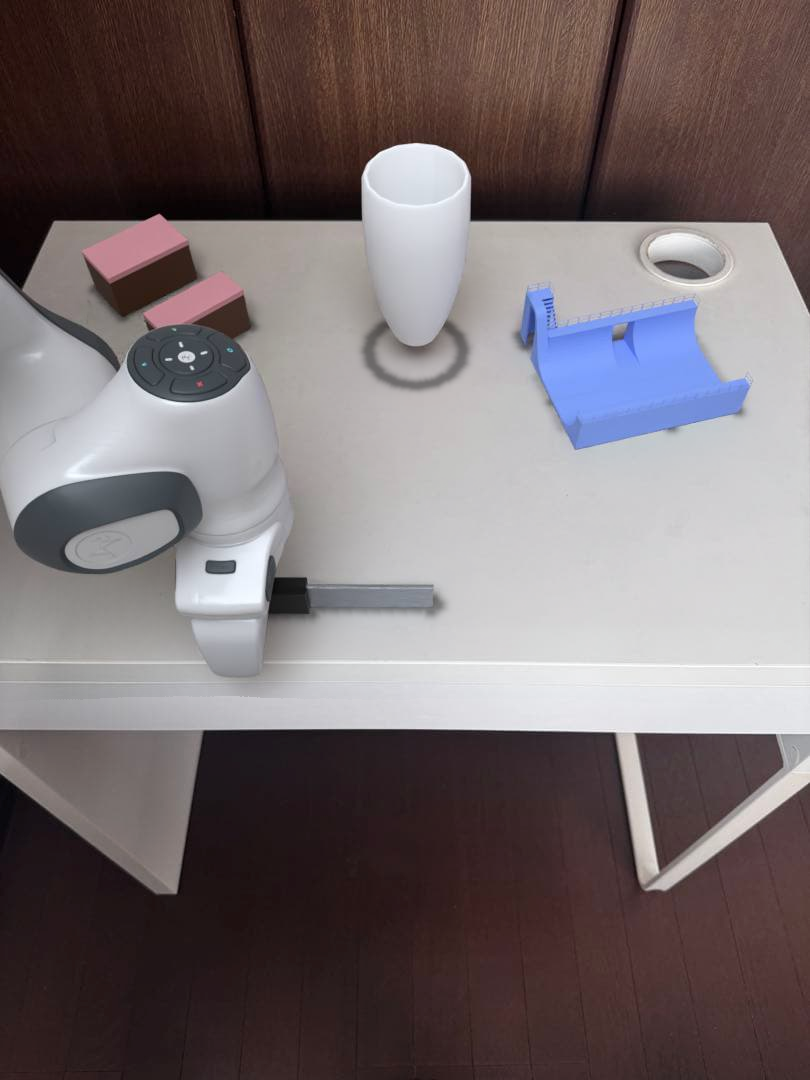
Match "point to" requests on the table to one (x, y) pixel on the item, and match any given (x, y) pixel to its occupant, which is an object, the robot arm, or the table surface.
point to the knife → (344, 595)
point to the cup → (416, 235)
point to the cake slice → (205, 307)
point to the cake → (140, 264)
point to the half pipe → (626, 371)
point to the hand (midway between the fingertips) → (260, 597)
